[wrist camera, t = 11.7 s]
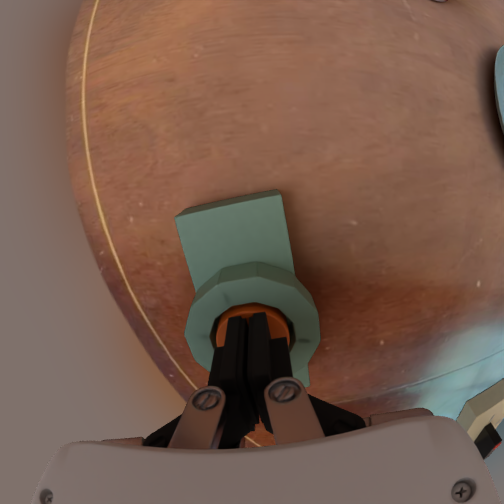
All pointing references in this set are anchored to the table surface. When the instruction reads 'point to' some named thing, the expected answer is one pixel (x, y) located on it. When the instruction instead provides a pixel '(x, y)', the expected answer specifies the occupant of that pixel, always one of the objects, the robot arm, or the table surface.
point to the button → (247, 310)
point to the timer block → (244, 272)
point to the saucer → (499, 85)
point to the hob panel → (483, 410)
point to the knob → (487, 440)
